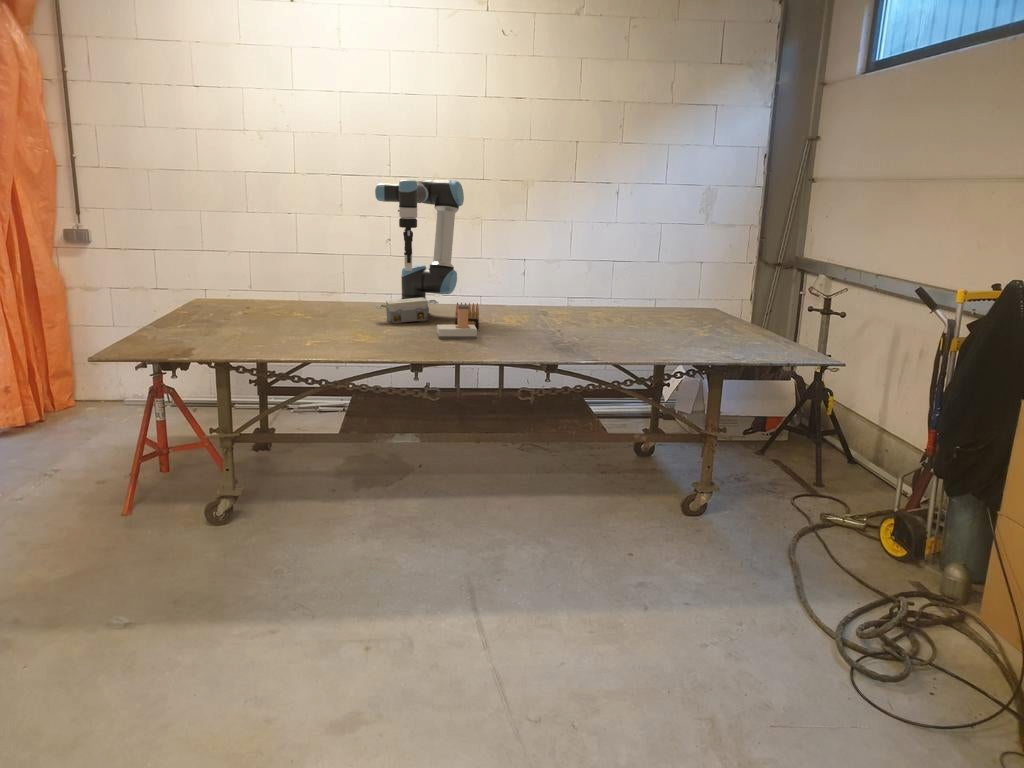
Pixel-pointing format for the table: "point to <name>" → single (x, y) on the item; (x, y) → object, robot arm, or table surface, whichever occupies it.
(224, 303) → the table surface
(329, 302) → the table surface
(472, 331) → the socket plate
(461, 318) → the copper brown rectangular block
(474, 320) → the ammunition clip
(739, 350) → the table surface
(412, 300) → the electrical outlet
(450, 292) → the robot arm
